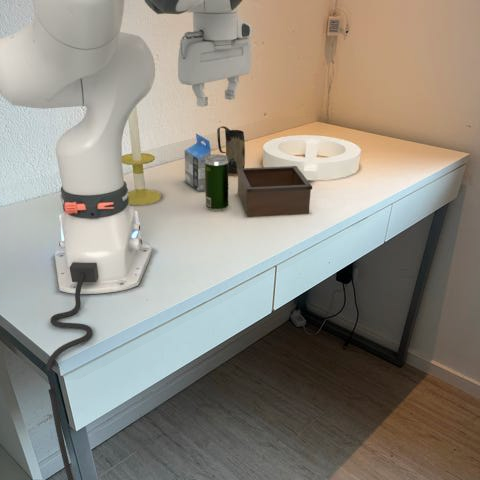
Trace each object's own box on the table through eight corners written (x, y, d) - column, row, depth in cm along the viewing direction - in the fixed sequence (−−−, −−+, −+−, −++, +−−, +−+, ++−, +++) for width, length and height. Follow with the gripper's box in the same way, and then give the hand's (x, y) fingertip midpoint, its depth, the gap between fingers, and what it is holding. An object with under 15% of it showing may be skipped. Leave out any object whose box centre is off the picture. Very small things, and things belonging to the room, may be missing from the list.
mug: (248, 171, 148) (248, 127, 141) (239, 177, 144) (239, 132, 137) (223, 167, 151) (223, 124, 144) (214, 172, 147) (213, 128, 140)
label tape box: (184, 181, 140) (182, 134, 134) (198, 179, 142) (196, 132, 135) (198, 192, 134) (196, 143, 127) (212, 189, 136) (211, 141, 129)
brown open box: (309, 214, 122) (312, 186, 118) (246, 217, 120) (246, 189, 116) (294, 191, 134) (296, 166, 131) (237, 194, 132) (237, 168, 129)
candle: (112, 197, 130) (96, 80, 115) (145, 188, 136) (134, 74, 121) (136, 208, 124) (123, 85, 109) (169, 197, 130) (161, 80, 115)
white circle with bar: (311, 145, 170) (312, 130, 167) (378, 167, 152) (381, 150, 149) (243, 161, 156) (243, 145, 153) (308, 187, 137) (310, 169, 135)
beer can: (216, 213, 122) (215, 162, 115) (201, 207, 125) (199, 157, 118) (233, 207, 125) (233, 157, 118) (217, 201, 128) (217, 152, 122)
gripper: (193, 33, 96) (196, 112, 104) (257, 26, 110) (255, 97, 118) (168, 31, 99) (172, 108, 107) (233, 25, 113) (233, 93, 121)
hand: (216, 102), depth 112 cm, fingers open, 8 cm apart
